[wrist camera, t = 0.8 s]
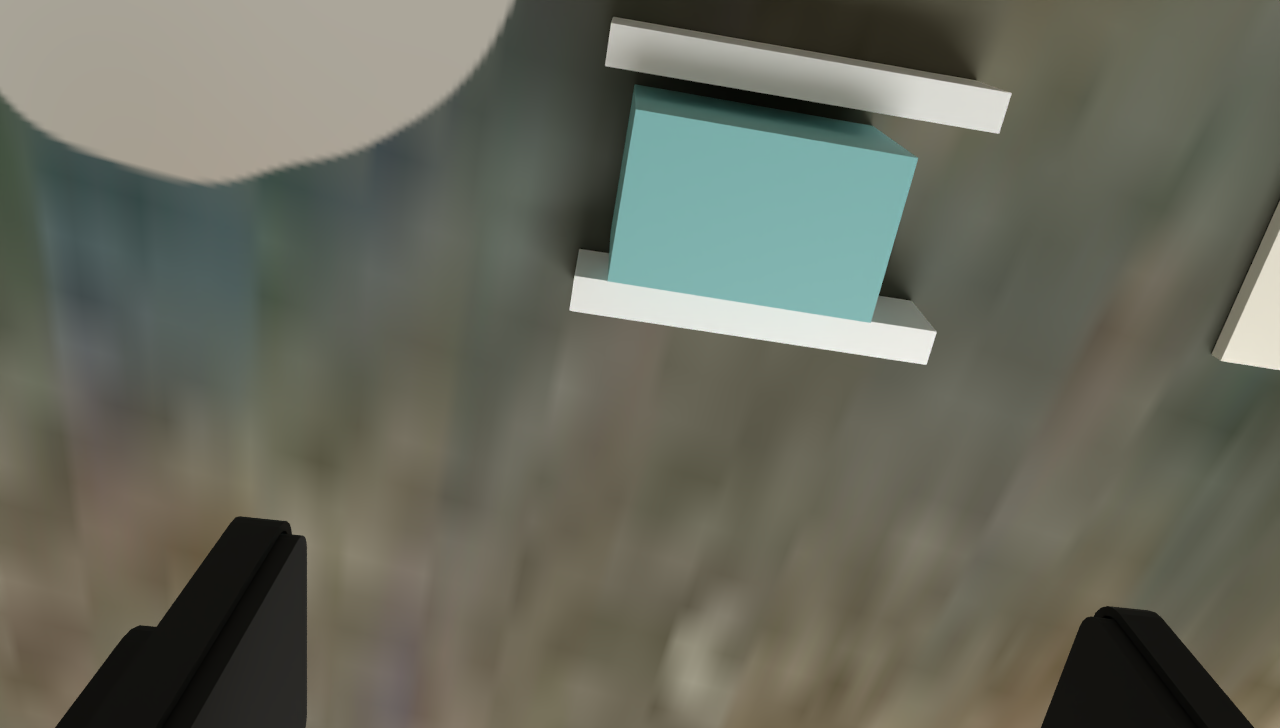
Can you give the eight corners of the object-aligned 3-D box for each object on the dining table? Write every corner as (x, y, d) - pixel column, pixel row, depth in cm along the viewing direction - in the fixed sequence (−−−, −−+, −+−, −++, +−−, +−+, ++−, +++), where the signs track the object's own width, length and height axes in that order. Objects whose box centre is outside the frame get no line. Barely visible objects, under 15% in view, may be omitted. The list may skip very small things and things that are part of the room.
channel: (613, 16, 30) (611, 22, 27) (977, 80, 31) (1011, 92, 28) (574, 280, 33) (569, 310, 30) (902, 331, 34) (926, 364, 31)
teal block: (634, 83, 31) (635, 109, 26) (871, 125, 31) (918, 158, 26) (610, 230, 33) (607, 281, 28) (834, 267, 33) (870, 323, 28)
